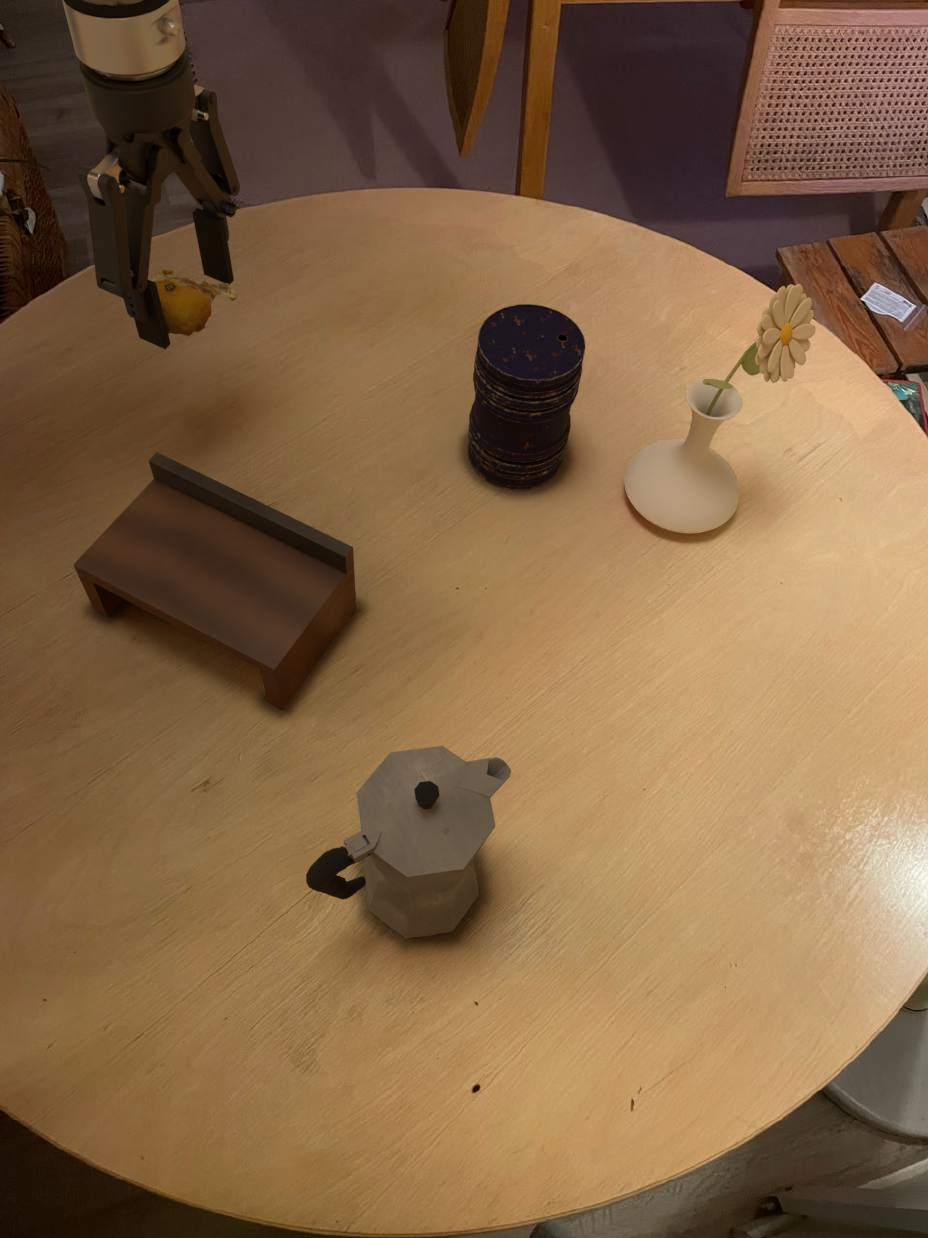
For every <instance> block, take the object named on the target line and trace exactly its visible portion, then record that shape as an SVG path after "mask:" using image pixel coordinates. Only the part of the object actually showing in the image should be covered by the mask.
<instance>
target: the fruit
mask: <svg viewBox="0 0 928 1238" xmlns="http://www.w3.org/2000/svg"><path fill="white" fill-rule="evenodd" d="M149 280H150V281H153V282H155V283H156V285H157V289H158V293H159V298H160V302H161V306H162V310H163V314H164V318H165V322H166V327H167V331H168V335H170V334H173V335H183V336H186V337H190V336H191V335H193V334H194V333H200V332H201V331H202V330H205V329H206V324H207V322H208V320H209V318H210V317H211V316H212V304H213V302H214V300H215V298H216V297H217V296H221V295H222V296H226V297H227V298H228V299H230V301H231V302H232V301H236V300H237V299H238V292H237V291H236V290H235V289H234V287H233V286H232V285H231V284H230V285H229V284H228V283H217V284H214V283H213V284H211V283H208V282H207V281H206V280H203V281H201V282H200V283H197V282H196V281H194V280H191V279H190V278H187V277H180V276H179V275H177V274H176V272H175V271H174V270H171V269H161V270H158V271H156V272H155V273H153V274H151V276H150V278H149Z"/></svg>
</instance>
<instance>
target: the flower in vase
mask: <svg viewBox="0 0 928 1238" xmlns="http://www.w3.org/2000/svg"><path fill="white" fill-rule="evenodd" d="M803 291H804V287H803V285H802V284H801V283H797V284H795V285H794V284H792V283H790V284H789V285H787V286H786V287H785V285H782V286H780V287H779V289H778V290H777V292H776V293H774V294H772V295H771V297H770V299H769V303H768V304H769V305H768V307H765V308H764V309H763V311H762V313H761V321H760V322H758V325H757V330H756V332H757V334H758V336H757V337H756V339H755V341H754V342H753V343H752V344H751V345H750V346H749V347H748V348H747V349H746V350H745V351H744V353H743V354H742V355H741V357H740V358H739V359H738V361H737V362H736V364H735V365H734V366H733V368H732V369H731V370H730V372H729V373H728V375H727V376H726V378H725V379H724V380H723V379H719V378H714V377H705V378H699V379H697V380H694V381H693V382H691V383H690V384H689V386H688V387H687V389H686V392H685V399H686V402H687V404H688V406H689V408H690V409H691V421H690V425H689V430H688V434H687V436H686V439H684V438H670V439H662V440H658V441H655V442H652V443H650V444H648V445H646V446H644V447H643V448H641V449H640V450H639V451H638V452H637V453H636V454H635V455H634V456H633V457H632V458H631V460H630V461H629V462H628V464H627V466H626V468H625V471H624V476H623V483H624V489H625V492H626V493H625V494H626V496H627V498H628V499H629V501H630V503H631V504H632V506H633V507H634V508H635V510H636V511H637V512H638V513H639V514H640V515H641V516H642V517H643V518H644V519H646V520H647V521H648V522H650V523H651V524H653V525H655V526H657V527H659V528H661V529H663V530H666V531H670V532H674V533H679V534H699V533H704V532H708V531H712V530H714V529H716V528H719V527H721V526H722V525H724V524H725V523H727V522H728V521H729V520H730V519H731V518H732V517H733V515H734V514H735V512H736V511H737V508H738V506H739V503H740V498H741V497H740V496H741V495H740V494H741V493H740V484H739V480H738V477H737V475H736V472H735V470H734V469H733V467H732V465H730V463H729V461H727V459H725V458H724V457H723V456H722V455H721V454H720V453H718V451H716V450H715V449H713V448H711V443H712V441H713V439H714V437H715V434H716V433H717V431H718V429H719V428H720V427H721V425H722V424H723V423H724V422H725V421H726V420H730V419H733V418H734V417H735V416H737V415H738V414H739V412H741V410H742V408H743V398H742V395H741V393H740V392H739V390H738V389H737V388H736V387H735V386H733V385H732V384H731V383H729V382H730V380H731V379H732V377H733V376H734V375H735V373H736V372H737V370H738V369H739V367H740V366H741V369H742V370H743V371H744V372H745V373H746V374H747V375H749V376H752V377H753V376H756V375H759V374H761V375H763V380H764V381H765V383H769V382H770V381H771V383H772V384H775V383H777V382H779V380H780V378H781V380H782V381H783V382H784V383H785V382H787V381H788V380H789V379H790V380H791V379H792V378H793V377H794V376H795V375H794V374H795V369H796V364H798V365H799V366H803V365H805V364H806V362H807V355H806V352H808V351H809V350H810V348H811V341H810V340H809V339H810V338H812V337H813V336H814V335H815V334H816V330H817V329H816V328H817V327H816V326H815V325H814V324H812V323H811V322H812V321H813V319H814V316H815V312H814V310H812V309H811V308H812V305H813V300H812V298H811V297H807V294H806V293H805V292H804V293H803Z"/></svg>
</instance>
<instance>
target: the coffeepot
mask: <svg viewBox="0 0 928 1238" xmlns="http://www.w3.org/2000/svg"><path fill="white" fill-rule="evenodd" d="M511 773H512V770H511V768H510V766H509V765H508V763H507V762H506V761H505V760H503V759H502V758H500V757H497V756H495V757H486V758H480V759H475V760H469V761H468V760H467V761H466V760H465V759H463V758H462V757H460V756H458V755H457V754H456V753H454V752H453V751H451V750H450V749H448V748H447V747H445V746H444V745H437V746H429V747H421V748H413V749H406V750H399V751H391V752H389V753H388V754H387V755H386V757H385V758H384V759H383V760H382V761H381V763H380V764H379V765H378V766H377V767H376V768H375V770H374V771H373V772H372V773H371V775H369V777H368V778H367V779H366V781H365V782H364V783H363V784H362V785H361V786H360V788H359V789H358V790H357V791H356V799H357V807H358V808H357V809H358V817H359V824H360V830H359V831H358V832H356V833H354V834H353V835H351V836H349V837H347V838H345V839H343V845H342V846H339V847H333V848H331V849H328V850H326V851H325V852H323V853H322V854H321V855H320V856H319V857H318V858H317V859H316V860H315V861H314V862H313V863H312V864H311V865H310V866H309V868H308V870H307V872H306V874H305V881H306V884H307V887H308V888H309V889H311V890H313V891H315V892H318V893H322V894H324V895H327V896H330V897H334V898H337V899H339V900H347V899H349V898H351V897H352V896H354V895H356V893H358V892H359V891H360V890H361V889H363V888H364V887H365V893H366V902H367V903H366V904H367V911H368V912H370V913H371V914H372V915H374V916H375V917H376V918H377V919H378V920H379V921H381V922H382V923H383V924H385V925H386V926H387V927H389V928H390V929H392V930H393V931H394V932H395V933H398V934H399V935H400V936H401V937H403V938H404V939H412V938H418V937H419V938H420V937H422V938H423V937H431V936H434V935H439V934H446V933H451V932H453V931H454V930H455V929H456V927H457V926H458V924H459V923H460V922H461V920H462V919H463V918H464V917H465V915H466V914H467V912H468V911H469V909H470V908H471V906H472V905H473V903H474V902H475V901H476V899H477V898H478V896H479V895H480V892H479V885H478V880H477V874H476V868H475V863H474V858H475V857H476V856H477V854H478V852H479V851H480V850H481V848H482V847H483V845H485V843H486V842H487V839H488V838H489V837H490V835H491V834H492V832H493V831H494V829H495V828H496V826H497V825H496V821H495V815H494V810H493V805H492V800H491V798H492V797H493V796H494V795H495V793H497V791H499V789H500V788H501V787H502V786H503V785H504V784H505V783H506V782H507V781H508V779H510V777H511ZM364 860H365V861H364ZM362 861H364V863H363V865H362V868H363V876H358V877H355V878H353V879H350V880H346V878H345V877H343V876H341V875H338V874H339V873H341V872H342V871H345V870H346V869H347V868H348V867H350V866H353V865H355V864H357V863H360V862H362Z"/></svg>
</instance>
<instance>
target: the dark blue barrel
mask: <svg viewBox="0 0 928 1238" xmlns="http://www.w3.org/2000/svg"><path fill="white" fill-rule="evenodd" d="M585 352H586V339H585V335H584V334H583V332H582V330H581V328H580V327H579V326H578V324H577V323H576V322H575V321H574V320H573V319H572V318H570V317H569V316H567V314H565V313H562V312H561V311H558V310H557V309H555V308H552V307H549V306H545V305H538V304H533V303H532V304H530V303H521V304H519V303H518V304H513V305H509V306H506V307H502V308H501V309H498V310H496V311H494V312H492V313H491V314H490V315H489V316H488V317H486V319H485V320H484V321H483V322H482V324H481V325H480V328H479V330H478V334H477V347H476V352H475V355H474V362H473V363H474V365H473V373H472V382H473V389H474V393H475V394H474V400H473V403H472V404H471V409H470V410H469V411H470V412H469V416H468V417H469V418H468V429H467V430H468V432H467V433H468V435H467V436H468V445H467V456H468V460H469V463H470V465H471V467H472V469H473V471H475V473H476V474H477V475H478V476H479V477H481V478H482V479H483V480H485V481H486V482H487V483H489V484H490V485H493V486H495V487H497V488H501V489H505V490H511V491H527V490H533V489H536V488H538V487H542V486H544V485H545V484H547V483H548V482H550V481H551V480H552V479H554V477H556V475H558V473H559V471H560V469H561V467H562V464H563V458H564V454H565V451H566V449H567V445H568V441H569V435H570V433H571V429H572V428H571V427H572V426H571V425H572V423H571V422H572V421H571V408H572V406H573V404H574V402H575V400H576V399H577V395H578V393H579V388H580V383H581V377H582V373H583V363H584V362H583V361H584V359H585V354H586V353H585Z"/></svg>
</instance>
